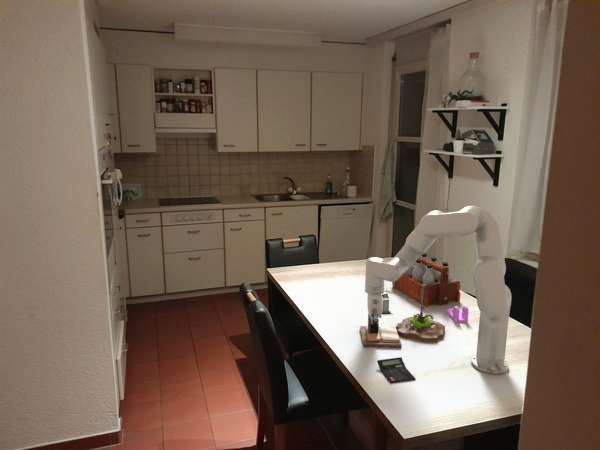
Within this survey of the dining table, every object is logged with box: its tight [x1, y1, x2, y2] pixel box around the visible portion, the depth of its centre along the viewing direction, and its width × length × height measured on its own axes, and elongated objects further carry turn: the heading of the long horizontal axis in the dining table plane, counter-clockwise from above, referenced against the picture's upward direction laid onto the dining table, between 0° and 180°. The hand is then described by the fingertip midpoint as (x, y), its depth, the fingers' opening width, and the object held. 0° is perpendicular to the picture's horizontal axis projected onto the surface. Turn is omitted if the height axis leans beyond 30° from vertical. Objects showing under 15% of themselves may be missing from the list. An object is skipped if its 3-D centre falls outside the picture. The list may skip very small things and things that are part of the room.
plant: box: [395, 305, 446, 344], centre depth 195 cm, size 20×20×11 cm
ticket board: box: [360, 325, 402, 349], centre depth 189 cm, size 16×15×3 cm
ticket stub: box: [365, 316, 381, 341], centre depth 188 cm, size 12×5×7 cm, turn 177°
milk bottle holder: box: [391, 252, 461, 307], centre depth 237 cm, size 21×35×19 cm, turn 20°
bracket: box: [446, 305, 470, 324], centre depth 210 cm, size 13×6×7 cm, turn 2°
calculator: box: [376, 357, 417, 384], centre depth 163 cm, size 9×12×3 cm
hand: (373, 327), depth 188 cm, fingers open, 9 cm apart
